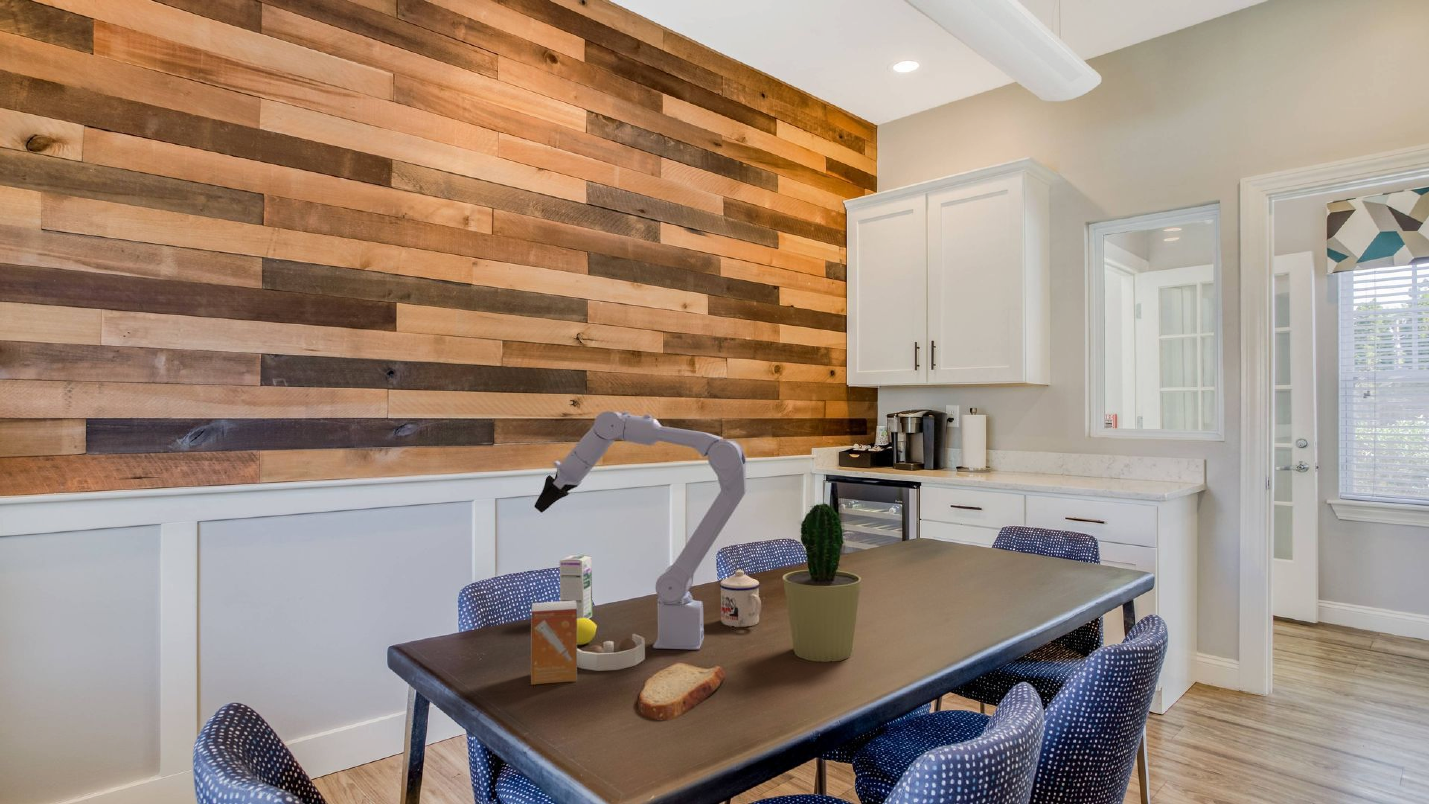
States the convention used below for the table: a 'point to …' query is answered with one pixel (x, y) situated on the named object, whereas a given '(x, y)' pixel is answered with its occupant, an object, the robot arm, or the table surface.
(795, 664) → the table surface
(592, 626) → the lemon
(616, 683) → the table surface
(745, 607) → the teacup with lid
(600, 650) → the walnut bead
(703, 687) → the slice of bread
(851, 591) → the potted cactus
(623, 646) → the walnut bead
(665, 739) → the table surface
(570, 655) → the small box
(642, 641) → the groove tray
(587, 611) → the syrup box
